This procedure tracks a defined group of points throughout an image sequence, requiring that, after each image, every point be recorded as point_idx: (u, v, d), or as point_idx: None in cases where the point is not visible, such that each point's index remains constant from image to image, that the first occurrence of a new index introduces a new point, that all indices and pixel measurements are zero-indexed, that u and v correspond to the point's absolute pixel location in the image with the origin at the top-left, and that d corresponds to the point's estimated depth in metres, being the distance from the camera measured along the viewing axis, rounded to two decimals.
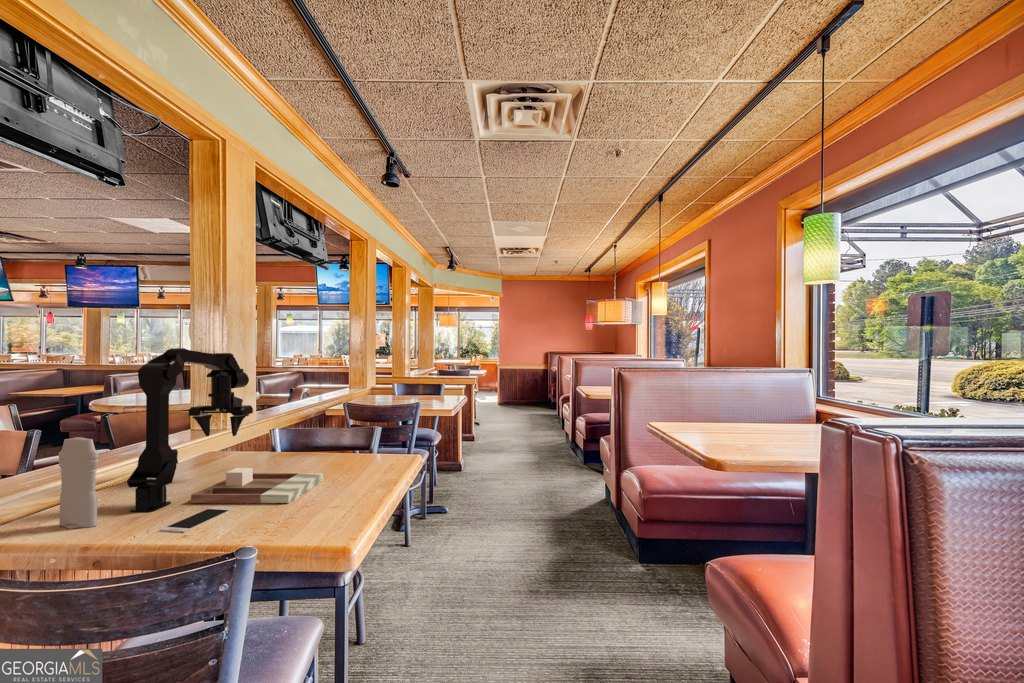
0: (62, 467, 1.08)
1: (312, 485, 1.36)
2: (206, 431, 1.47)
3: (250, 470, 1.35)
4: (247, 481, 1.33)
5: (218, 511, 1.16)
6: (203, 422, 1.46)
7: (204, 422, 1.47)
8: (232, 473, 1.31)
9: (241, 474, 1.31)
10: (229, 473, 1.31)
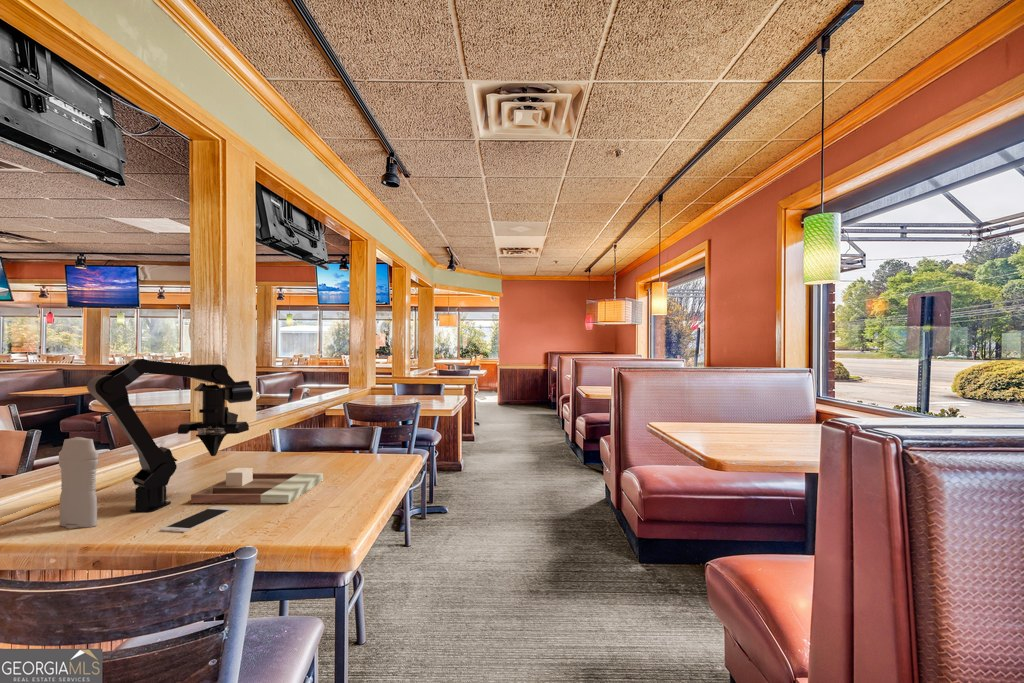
0: (62, 467, 1.08)
1: (312, 485, 1.36)
2: None
3: (250, 470, 1.35)
4: (247, 481, 1.33)
5: (218, 511, 1.16)
6: (208, 441, 1.32)
7: (209, 440, 1.32)
8: (232, 473, 1.31)
9: (241, 474, 1.31)
10: (229, 473, 1.31)
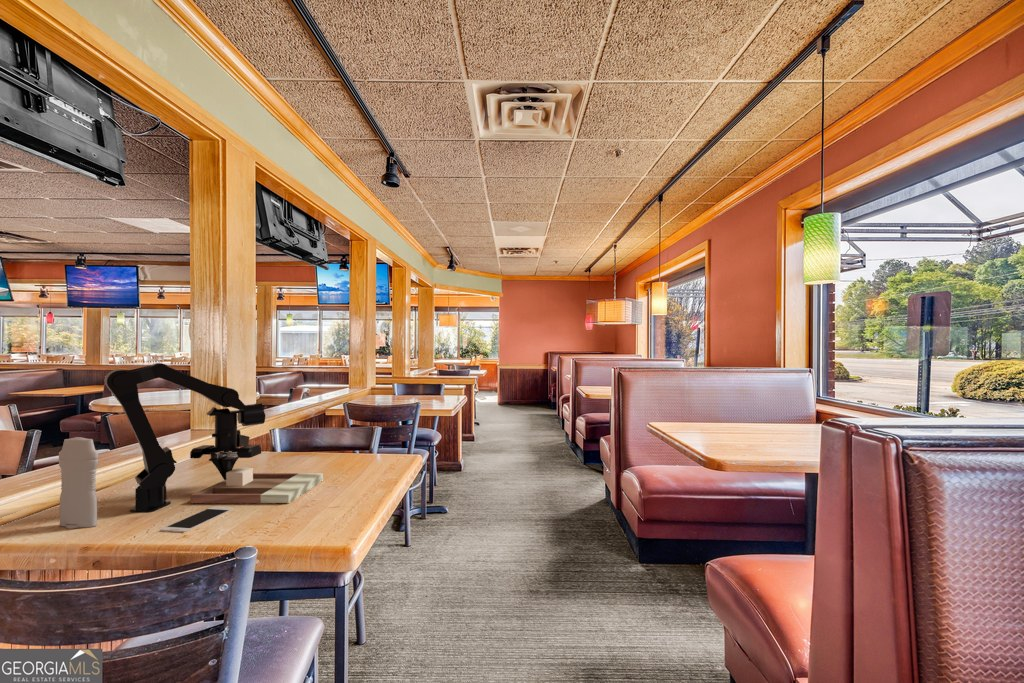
0: (62, 467, 1.08)
1: (312, 485, 1.36)
2: None
3: (250, 470, 1.35)
4: (247, 481, 1.33)
5: (218, 511, 1.16)
6: (221, 465, 1.32)
7: (222, 464, 1.32)
8: (232, 473, 1.31)
9: (241, 474, 1.31)
10: (229, 473, 1.31)
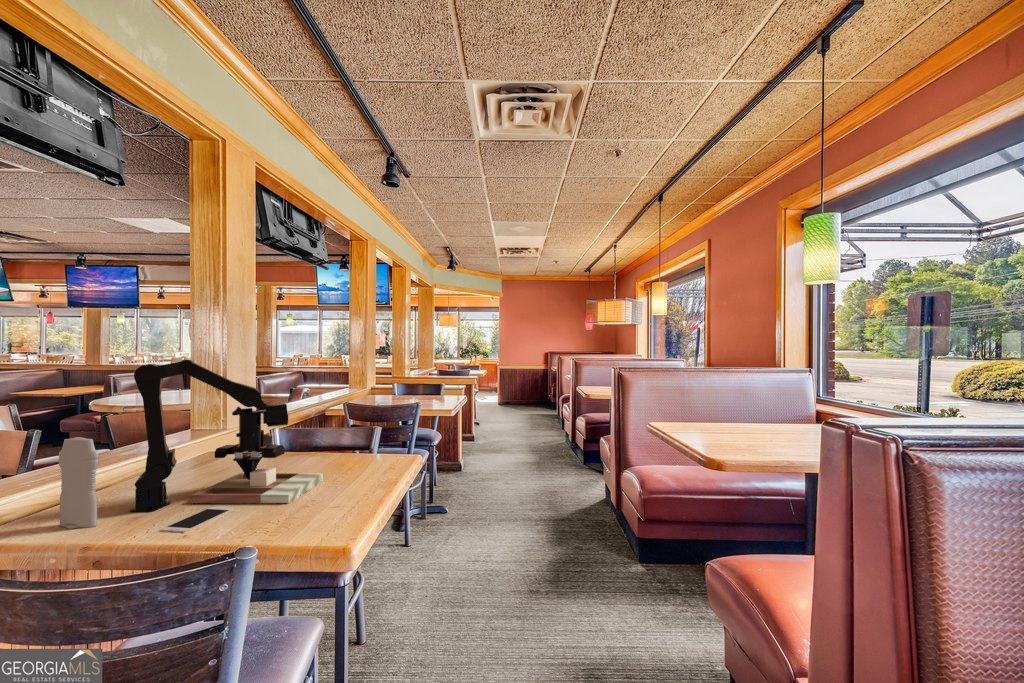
0: (62, 467, 1.08)
1: (312, 485, 1.36)
2: None
3: (273, 470, 1.34)
4: (271, 481, 1.33)
5: (218, 511, 1.16)
6: (245, 464, 1.32)
7: (246, 464, 1.32)
8: (256, 473, 1.31)
9: (265, 474, 1.31)
10: (253, 473, 1.31)
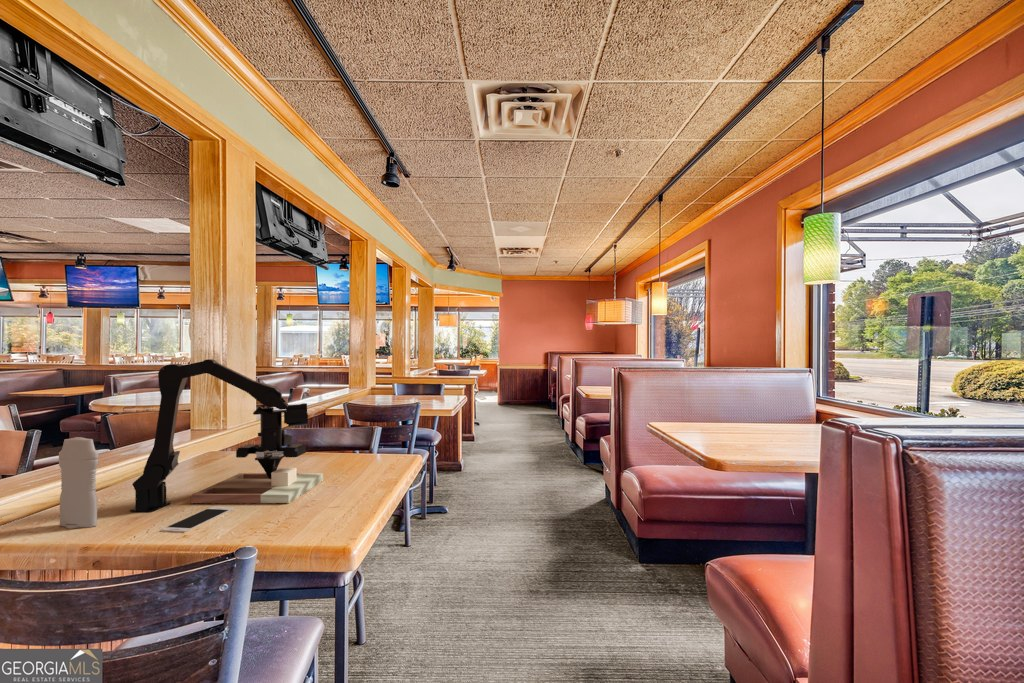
0: (62, 467, 1.08)
1: (312, 485, 1.36)
2: None
3: (294, 470, 1.34)
4: (292, 481, 1.33)
5: (218, 511, 1.16)
6: (266, 464, 1.32)
7: (267, 463, 1.32)
8: (277, 473, 1.30)
9: (286, 474, 1.30)
10: (274, 473, 1.30)
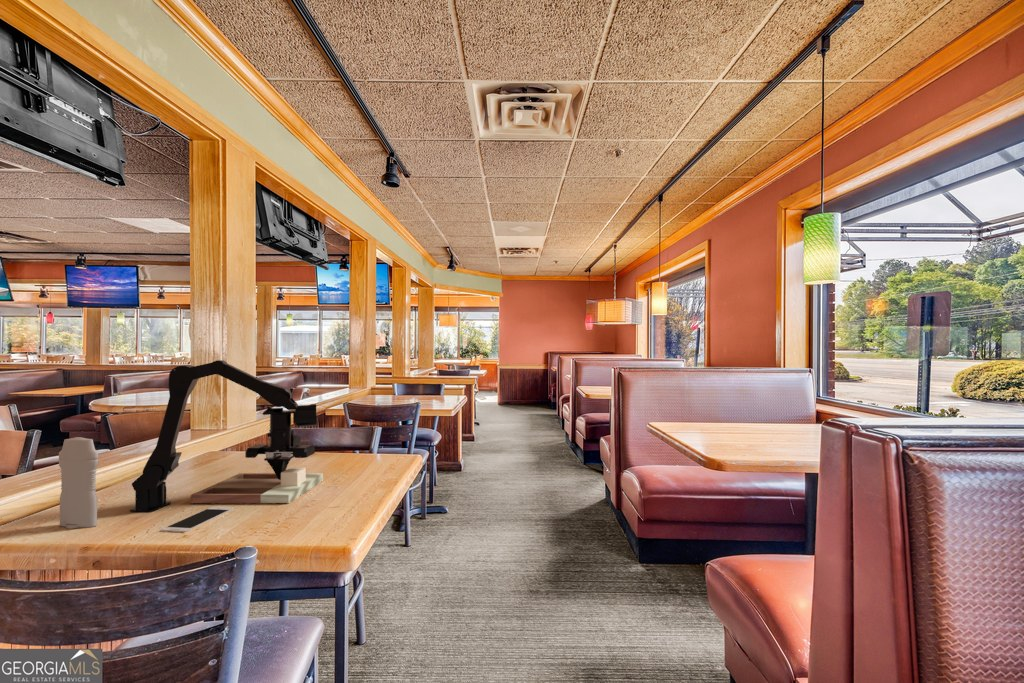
0: (62, 467, 1.08)
1: (312, 485, 1.36)
2: None
3: (303, 470, 1.34)
4: (301, 481, 1.33)
5: (218, 511, 1.16)
6: (276, 464, 1.32)
7: (276, 464, 1.32)
8: (287, 473, 1.30)
9: (296, 474, 1.30)
10: (284, 473, 1.30)
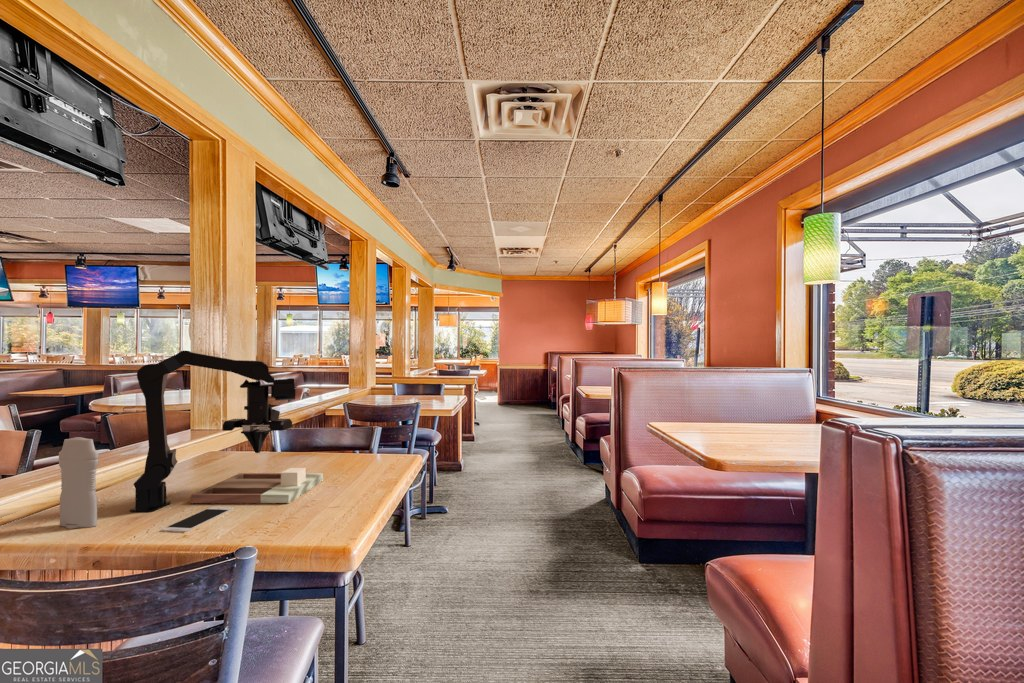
0: (62, 467, 1.08)
1: (312, 485, 1.36)
2: (256, 447, 1.33)
3: (303, 470, 1.34)
4: (301, 481, 1.33)
5: (218, 511, 1.16)
6: (253, 437, 1.32)
7: (253, 437, 1.32)
8: (287, 473, 1.30)
9: (296, 474, 1.30)
10: (284, 473, 1.30)
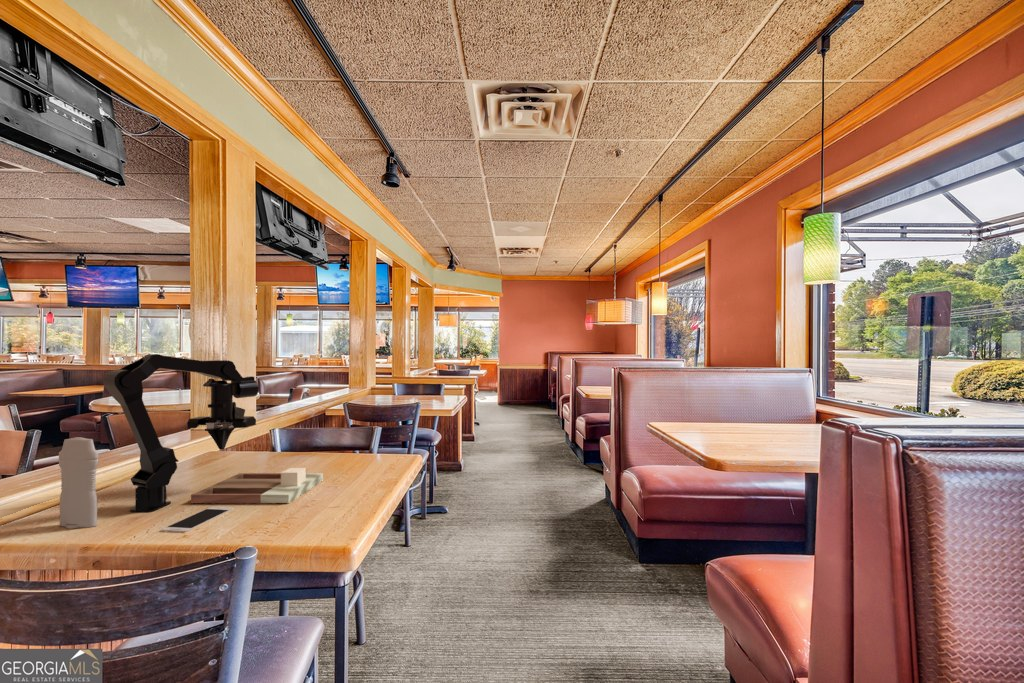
0: (62, 467, 1.08)
1: (312, 485, 1.36)
2: (220, 444, 1.37)
3: (303, 470, 1.34)
4: (301, 481, 1.33)
5: (218, 511, 1.16)
6: (216, 435, 1.36)
7: (217, 434, 1.36)
8: (287, 473, 1.30)
9: (296, 474, 1.30)
10: (284, 473, 1.30)
